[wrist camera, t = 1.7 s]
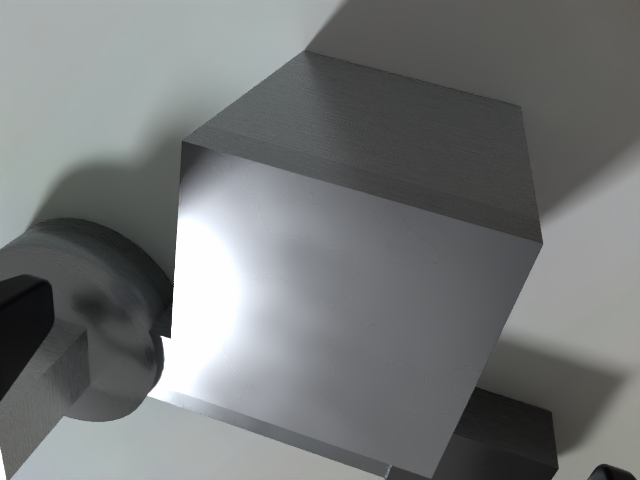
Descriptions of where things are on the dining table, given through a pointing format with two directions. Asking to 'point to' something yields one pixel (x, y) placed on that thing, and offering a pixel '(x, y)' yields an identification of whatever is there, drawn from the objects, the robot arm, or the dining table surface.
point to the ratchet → (154, 365)
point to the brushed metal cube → (350, 255)
